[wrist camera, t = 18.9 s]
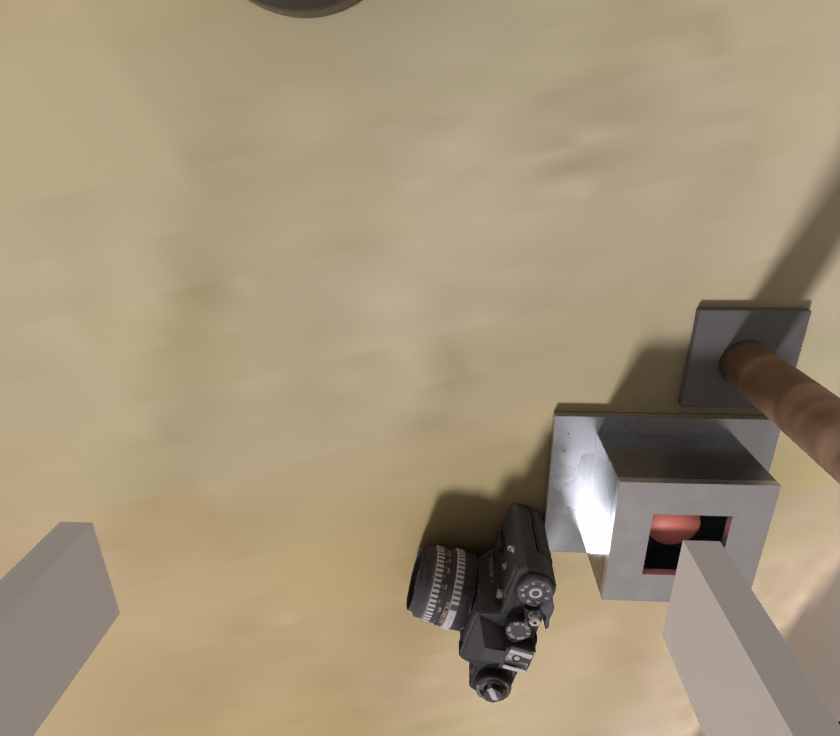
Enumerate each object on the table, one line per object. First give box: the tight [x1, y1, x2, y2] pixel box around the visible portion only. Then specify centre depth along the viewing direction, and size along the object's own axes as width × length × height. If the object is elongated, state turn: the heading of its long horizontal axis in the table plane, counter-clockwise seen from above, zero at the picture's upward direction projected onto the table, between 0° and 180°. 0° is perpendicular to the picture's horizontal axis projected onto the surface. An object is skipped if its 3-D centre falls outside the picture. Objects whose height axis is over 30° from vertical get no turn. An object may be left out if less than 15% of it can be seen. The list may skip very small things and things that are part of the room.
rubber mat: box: [679, 308, 811, 407], centre depth 43 cm, size 8×8×1 cm
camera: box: [407, 504, 556, 703], centre depth 48 cm, size 14×11×10 cm
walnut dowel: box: [719, 340, 840, 484], centre depth 35 cm, size 4×4×16 cm
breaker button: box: [650, 514, 700, 545], centre depth 45 cm, size 4×4×4 cm
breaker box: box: [544, 412, 781, 602], centre depth 44 cm, size 14×18×8 cm
